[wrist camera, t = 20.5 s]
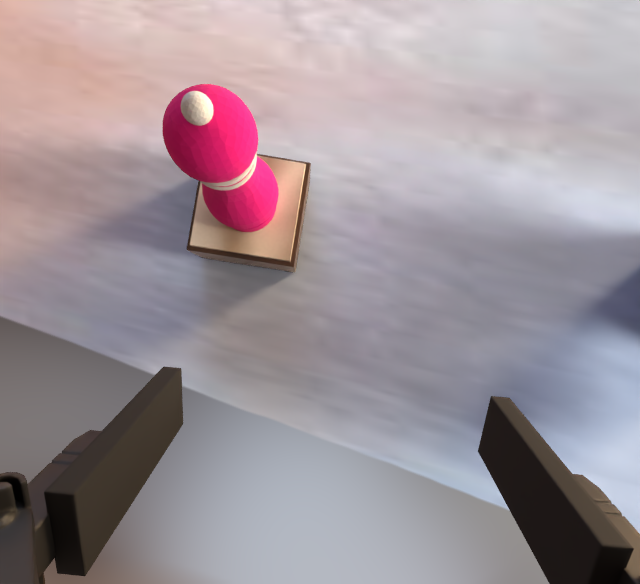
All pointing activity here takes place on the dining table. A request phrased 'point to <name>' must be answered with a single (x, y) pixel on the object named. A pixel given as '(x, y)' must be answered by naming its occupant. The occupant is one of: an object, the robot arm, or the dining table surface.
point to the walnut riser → (267, 243)
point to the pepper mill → (221, 155)
